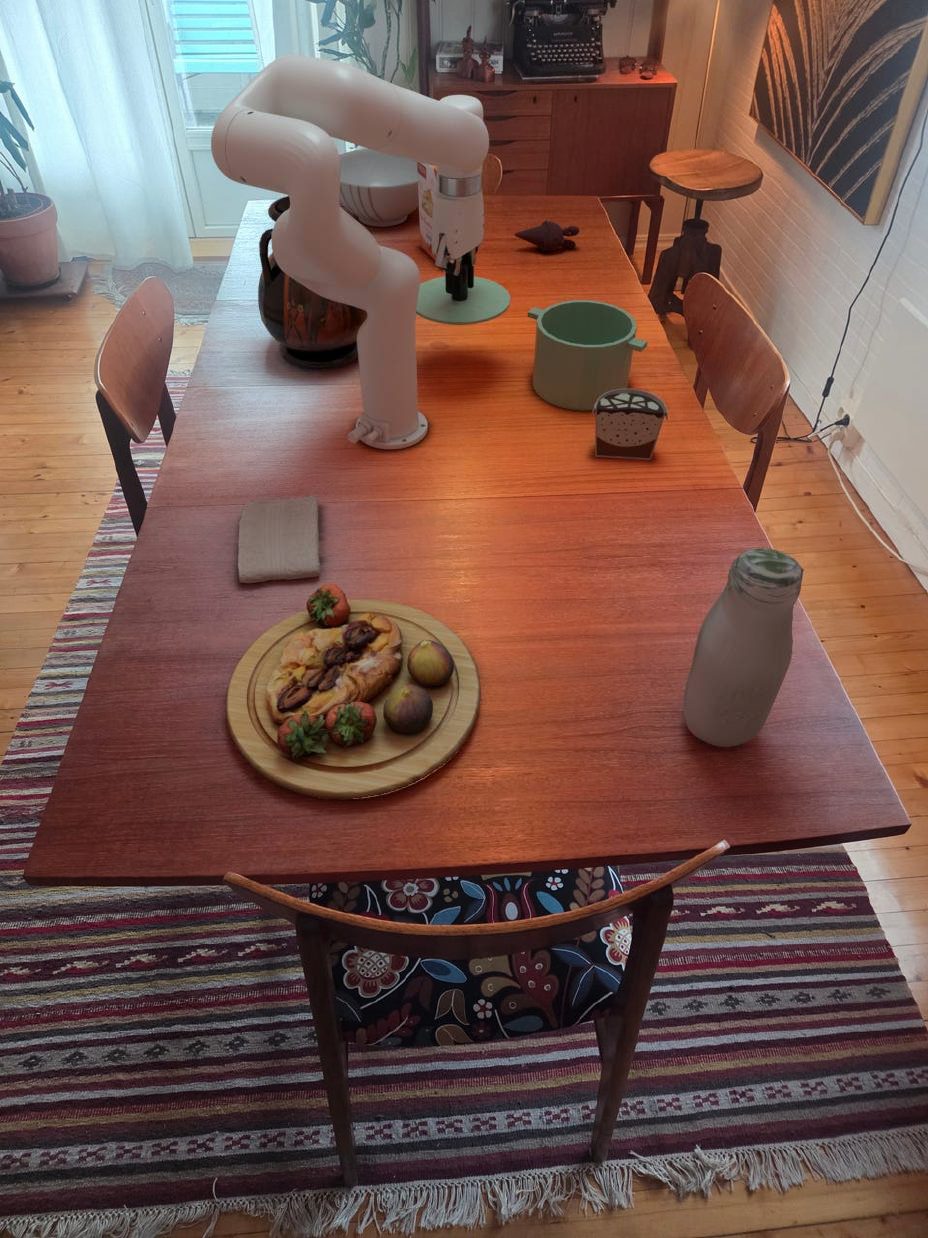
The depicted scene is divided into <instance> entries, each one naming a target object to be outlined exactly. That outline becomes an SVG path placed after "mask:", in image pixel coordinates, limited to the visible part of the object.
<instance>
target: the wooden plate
mask: <svg viewBox="0 0 928 1238" xmlns="http://www.w3.org/2000/svg"><path fill="white" fill-rule="evenodd" d="M305 605H306V609H303V610H301V611H298V612H296V613H295V614H292V615H291V616H288V617H286V618H285V619H283V620H281V621H279V622H278V623H276V624H274V625H273V626H271V627H270V628H269V629H268V630H266V631H265V632H264V633H262V634H261V635H260V636H259V637H258V638H257V639H256V640H255V641H253V643H252V644H251V645H250V646H249V647H248V649H247V650H246V651H245V652H244V654H243V655H242V656H241V657H240V659H239V661H238V662H237V664H236V666H235V668H234V670H233V672H232V674H231V676H230V678H229V682H228V685H227V689H226V695H225V715H226V726H227V729H228V731H229V734H230V737H231V739H232V741H233V744H234V745H235V747H236V749H237V750H238V752H239V753H240V755H241V756H242V757H243V759H244V760H245V761H246V762H247V763H248V765H250V767H252V768H253V769H254V770H255V771H256V772H257V773H258V774H259V775H261V776H262V777H264V778H265V779H267V780H269V781H270V782H271V783H273V784H275V785H278V786H279V785H280V786H279V787H281V786H282V788H283V787H284V788H283V789H286V790H288V791H290V790H291V792H293V791H294V792H293V793H296V792H297V794H299V793H300V795H303V794H304V795H303V796H306V795H307V796H306V797H310V796H312V797H311V798H316V797H320V798H319V799H321V798H328V799H327V800H331V799H353V798H362V797H368V796H374V795H381V794H384V793H388V792H391V791H395V790H397V789H401V788H403V787H406V786H408V785H409V784H412V783H415V782H416V781H418V780H420V779H421V778H424V777H425V776H427V775H428V774H430V773H432V772H433V771H434V770H436V769H438V768H439V767H441V766H443V764H445V763H446V762H447V761H448V760H449V759H450V758H452V757H453V756H454V755H455V753H456V752H457V751H458V750H459V749H460V748H461V749H462V747H463V746H464V745H463V743H464V742H465V740H466V739H467V737H468V736H469V737H470V735H471V733H472V731H473V729H474V727H475V725H474V724H476V722H477V719H478V716H479V713H478V712H480V706H481V697H482V687H481V679H480V674H479V671H478V668H477V664H476V662H475V660H474V658H473V655H472V654H471V652H470V650H469V649H468V647H467V645H466V644H465V643H464V641H463V640H462V639H461V638H460V637H459V636H458V635H457V633H456V632H454V631H453V630H452V629H451V628H450V627H449V626H448V625H446V624H445V623H443V622H442V621H440V620H439V619H437V618H436V617H434V616H433V615H431V614H429V613H427V612H425V611H422V610H420V609H418V608H416V607H414V606H410V605H406V604H403V603H400V602H395V601H389V600H381V599H371V598H369V599H368V598H359V599H358V598H355V599H347V596H346V593H345V592H344V591H343V589H342V588H340V587H339V586H338V585H336V584H334V583H325V584H323V585H321V586H320V588H317V589H316V590H315V591H314V592H313V593H312V594H311V595H308V599H307V601H306V604H305ZM473 726H474V727H473ZM469 734H470V735H469ZM469 737H468V738H469ZM467 740H468V739H467ZM467 740H466V741H467ZM465 743H466V742H465ZM465 743H464V744H465ZM462 745H463V746H462ZM461 746H462V747H461ZM461 749H460V750H461ZM460 750H459V751H460ZM459 751H458V752H459ZM455 756H456V755H455ZM455 756H454V757H455ZM454 757H453V758H454ZM453 758H452V759H453ZM445 765H446V764H445ZM443 767H444V766H443ZM376 769H378V770H376ZM434 774H435V773H433V774H432V775H434ZM423 781H424V780H422V781H420V782H419V783H421V782H423ZM417 784H418V783H416V784H415V785H417ZM411 787H412V786H410V787H409V788H411ZM401 791H402V790H400V791H397V792H394V793H391V794H390V795H392V794H395V793H398V792H401ZM388 795H389V794H387V795H386V796H388ZM378 797H379V798H380V796H378ZM378 797H377V798H378ZM375 798H376V797H373V798H372V799H375ZM368 799H370V798H367V799H366V800H368ZM321 800H322V799H321ZM357 800H358V801H359V800H360V799H356V800H355V801H357Z"/></svg>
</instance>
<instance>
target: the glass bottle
mask: <svg viewBox="0 0 928 1238" xmlns="http://www.w3.org/2000/svg"><path fill="white" fill-rule="evenodd" d="M804 571H805V568H803V567H802V566H801V564H800V563H799V562H798V560H796V559H795V558H794V557H793V556H791V555H788V554H787V553H785V552H783V551H780V550H777V549H774V548H773V549H772V548H768V547H767V548H765V547H761V548H760V547H759V548H752V549H749V550H747V551H744V552H742V553H741V554H739V555H738V556H737V557H736V558H735V559H734V560H733V562H732V564H731V565H730V567H729V570H728V574H727V581H726V584H725V586H724V589H723V590H722V592H721V593H720V595H719V596H718V597H717V599H716V600H715V601H714V603H713V605H712V606H711V608H710V610H708V612H707V614H706V615H705V617H704V619H703V621H702V623H701V626H700V627H699V631H698V634H697V638H696V643H695V647H694V651H693V652H694V653H693V658H692V660H691V661H692V662H691V665H690V669H689V673H688V676H687V680H686V684H685V688H684V689H685V690H684V694H683V695H684V696H683V702H682V715H683V718H684V722H685V723H686V727H687V729H688V730H689V731H690V733H691V734H692V735H694V737H696V739H699V740H701V741H702V742H704V743H706V744H709V745H712V746H715V747H719V748H730V747H731V748H732V747H738V746H740V745H744V744H746V743H748V742H750V741H751V740H753V739H755V737H757V736H758V735H759V733H760V732H761V731H762V730H763V728H764V726H765V725H766V722H767V720H768V718H769V716H770V714H771V710H772V708H773V707H774V704H775V702H776V699H777V697H778V694H779V692H780V690H781V687H782V684H783V682H784V679H785V678H786V674H787V673H788V669H789V667H790V666H791V665H790V664H791V661H792V657H793V655H792V654H793V646H794V639H793V638H794V637H793V619H794V606H795V604H796V603H797V601H798V599H799V597H800V594H801V590H802V581H803V575H804Z"/></svg>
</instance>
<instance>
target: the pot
mask: <svg viewBox="0 0 928 1238" xmlns="http://www.w3.org/2000/svg"><path fill="white" fill-rule="evenodd" d="M527 318H529V319H532V320H536V323H535V324H536V325H535V341H534V352H533V353H534V355H533V356H534V357H533V369H532V385H533V389H534V391H535V393H536V394H537V395H538V396H539V398H541V399H542V400H543V401H545V402H546V403H549V404H551V405H552V406H553V405H554V406H556V407H559V408H562V409H566V410H573V411H593V408H594V406H595V403H596V402H597V400H598V399H599V397H600V396H601V395H603V394H604V393H606V392H609V391H612V390H616V389H628V386H629V381H630V376H631V375H630V374H631V369H632V368H631V367H632V362H633V361H632V360H633V355H634V354H633V353H634V351H636V352H640V353H641V352H643V351H644V350H645V349H646V348H647V347H648V341H647V340H645V339H644V340H643V339H640V338H638V337H636V336H637V329H638V325H637V322H636V319H635V318H634V317H633V315H632V314H630V313H629V312H628V311H626V310H624V309H623V308H621V307H619V306H617V305H615V304H611V303H607V302H604V301H597V300H590V299H573V300H567V301H560V302H557V303H554V304H552V305H549V306H547V307H546V308H544V309H542V308H539V307H535V306H534V307H532V308H531V309H529V311H527ZM594 411H596V409H595V410H594Z"/></svg>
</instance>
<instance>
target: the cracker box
mask: <svg viewBox="0 0 928 1238" xmlns="http://www.w3.org/2000/svg"><path fill="white" fill-rule="evenodd" d="M417 169H418V194H419V206H418V215H419V216H418V217H419V219H418V220H419V241H420V242H419V243H420V244H419V245H420V248H421V249H422V250H423V251H424V252H425V253H427V255H428V256H430V258H431V259H433V261H434V262H436V258H437V255H435V254H433V252H432V218H433V208H434V201H435V196H436V195H437V194H438V193H437V166H434V165H429V164H424V163H419V162H417ZM450 262H451V263H454V260H451V259H450ZM460 262H461V261H460Z"/></svg>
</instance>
